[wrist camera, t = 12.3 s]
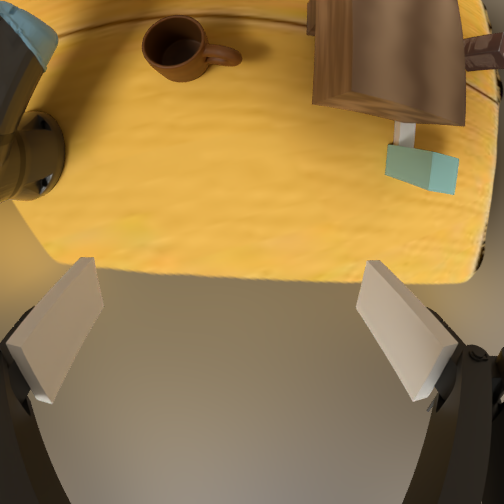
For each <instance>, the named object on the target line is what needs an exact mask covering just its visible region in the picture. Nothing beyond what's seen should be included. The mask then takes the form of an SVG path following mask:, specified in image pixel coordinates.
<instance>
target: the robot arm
mask: <svg viewBox="0 0 504 504" xmlns="http://www.w3.org/2000/svg"><path fill="white" fill-rule="evenodd" d="M57 45H58V36H57V34H56V32H55V31H54V30H53V29H52V28H51V27H50V26H48V25H47V24H46V23H44V22H43V21H41V20H40V19H38V18H37V17H35V16H34V15H32V14H30V13H29V12H27V11H25V10H23V9H20V8H18V7H16V6H14V5H12V4H11V3H8V2H5V1H0V203H2V202H4V201H6V200H8V199H11V200H21V201H30V200H34V199H37V198H39V197H41V196H44V195H45V194H47V193H48V192H49V191H50V190H51V189H52V188H53V187H54V186H55V184H56V183H57V181H58V179H59V177H60V175H61V172H62V169H63V165H64V158H65V144H64V138H63V134H62V131H61V129H60V127H59V125H58V123H57V122H56V121H55V119H54V118H53V117H51V116H50V115H49V114H47V113H44V112H36V111H31V112H25V109H26V107H27V105H28V103H29V101H30V98H31V96H32V94H33V92H34V90H35V88H36V86H37V84H38V82H39V80H40V78H41V76H42V74H43V73H44V72H45V71H46V70H47V64H48V63H49V61H50V59H51V57H52V55H53V53H54V51H55V49H56V48H57ZM24 112H25V113H24ZM103 307H104V304H103V300H102V295H101V291H100V286H99V281H98V277H97V271H96V266H95V261H94V257H81V258H80V259H79V260H78V261H77V262H76V263H75V264H74V265H73V266H72V267H71V268H70V269H69V270H68V271H67V272H66V273H65V274H64V275H63V276H62V277H61V278H60V279H59V280H58V281H57V283H56V284H55V285H54V286H53V287H52V288H51V289H50V290H49V291H48V293H47V294H46V295H45V296H44V297H43V298H42V299H41V300H40V301H39V303H38V304H37V305H36V306H34V307H32V308H31V309H29V310H28V311H26V312H25V313H24V314H23V315H22V317H21V318H20V319H19V321H18V322H17V323H16V324H15V325H14V327H12V329H11V330H10V331H9V332H8V334H7V335H6V336H5V338H4V339H3V340H2V342H1V343H0V504H71V503H70V501H69V499H68V497H67V495H66V493H65V491H64V489H63V487H62V485H61V483H60V481H59V479H58V477H57V474H56V472H55V470H54V467H53V465H52V463H51V461H50V458H49V455H48V453H47V450H46V448H45V445H44V442H43V440H42V437H41V434H40V431H39V428H38V425H37V422H36V419H35V415H34V412H33V409H32V405H31V401H30V400H29V398H28V396H27V395H28V393H29V391H30V389H31V391H32V392H33V394H34V396H35V397H36V399H37V400H40V401H43V402H47V403H50V404H53V402H54V399H55V397H56V395H57V393H58V391H59V389H60V387H61V385H62V383H63V381H64V379H65V376H66V375H67V372H68V371H69V369H70V367H71V365H72V363H73V361H74V359H75V357H76V355H77V353H78V351H79V349H80V347H81V346H82V344H83V342H84V340H85V339H86V337H87V335H88V333H89V331H90V330H91V328H92V326H93V324H94V322H95V321H96V319H97V317H98V316H99V314H100V312H101V311H102V309H103ZM356 309H357V311H358V312H359V314H360V315H361V317H362V318H363V320H364V321H365V323H366V325H367V326H368V328H369V329H370V331H371V332H372V334H373V336H374V337H375V339H376V340H377V342H378V343H379V345H380V347H381V348H382V350H383V352H384V353H385V355H386V357H387V358H388V360H389V362H390V363H391V365H392V367H393V368H394V370H395V372H396V373H397V375H398V377H399V378H400V380H401V382H402V383H403V385H404V387H405V389H406V390H407V392H408V394H409V396H410V397H411V399H412V401H416V400H420V399H423V398H426V397H428V396H429V394H430V393H431V391H432V390H433V388H434V386H435V388H436V389H437V391H438V393H437V395H436V397H435V398H434V400H433V401H432V403H431V404H430V406H429V407H428V409H427V411H428V412H429V410H430V409H431V408H432V407H433V408H432V413H431V417H430V422H429V426H428V429H427V433H426V437H425V440H424V444H423V447H422V450H421V454H420V457H419V460H418V463H417V466H416V469H415V472H414V475H413V478H412V480H411V483H410V485H409V488H408V491H407V493H406V496H405V498H404V500H403V503H402V504H481V501H482V504H504V402H503V403H501V400H500V398H501V397H502V396H503V394H504V347H503V348H502V350H501V351H500V353H499V355H498V356H489V355H488V354H487V352H486V351H485V350H484V349H482V348H481V347H479V346H476V345H467V346H466V345H465V344H464V343H463V342H462V340H461V339H460V338H459V337H458V336H457V335H456V334H455V332H454V331H453V330H452V329H451V328H450V327H448V325H447V324H446V323H445V322H443V319H442V318H441V317H440V316H439V315H438V314H437V313H436V312H434V311H433V310H431V309H429V308H428V307H425V306H424V304H423V303H422V302H421V301H420V300H419V299H418V298H417V297H416V296H415V295H414V294H413V293H412V292H411V291H410V290H409V289H408V288H407V287H406V286H405V285H404V284H403V283H402V282H401V281H400V280H399V279H398V278H397V277H396V276H395V275H394V274H393V273H392V272H391V271H390V270H389V269H388V268H387V267H386V266H385V265H384V264H383V263H382V262H381V261H380V260H367V262H366V267H365V271H364V276H363V280H362V284H361V288H360V293H359V297H358V301H357V305H356Z"/></svg>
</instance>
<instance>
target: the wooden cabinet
mask: <svg viewBox="0 0 504 504" xmlns="http://www.w3.org/2000/svg"><path fill="white" fill-rule="evenodd" d="M307 35H311V36H315V58H314V80H313V97H312V104H314V105H321V106H327V107H333V108H339V109H345V110H350V111H355V112H360V113H365V114H369V115H374V116H378V117H382V118H387V119H391V120H395V121H398V122H402V123H420V124H440V125H454V126H465V114H466V72H465V54H464V43H463V34H462V26H461V19H460V12H459V7H458V1H457V0H310V1H309V2H308V4H307Z"/></svg>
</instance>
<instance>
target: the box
mask: <svg viewBox="0 0 504 504" xmlns="http://www.w3.org/2000/svg"><path fill="white" fill-rule="evenodd" d="M463 43H464V54H465V69H466V70H467V71H477V70H489V69H504V32H502V33H495V34H488V35H483V36H477V37H472V38H467V39H463Z"/></svg>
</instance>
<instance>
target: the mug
mask: <svg viewBox="0 0 504 504" xmlns="http://www.w3.org/2000/svg"><path fill="white" fill-rule="evenodd" d="M142 52H143V55H144V57H145V59H146V60H147V61H148V63H149V64H150V65H151V66H152V67H153V68H154V69H155V70H157V71H158V72H159V73H161V74H162V75H163V76H164V77H166V78H167V79H169V80H172V81H175V82H188V81H191V80H194V79H196V78H198V77H199V76H201V75H202V74H203V73H204V72H205V70H206V69H207V68H208V66H209V63H211V64H217V65H222V66H236V65H238V64H240V63H241V61H242V56H241V54H240V53H239V52H238V51H237V50H235V49H232V48H230V47H226V46H221V45H212V44H209V43H208V39H207V36H206V33H205V31H204V29H203V28H202V26H201V25H200V23H199V22H198V21H196V20H195V19H193V18H191V17H188V16H184V15H173V16H168V17H165V18H163V19H161V20H159V21H157V22H156V23H155V24H153V25H152V26H151V27H150V28H149V29H148V31H147V32H146V34H145V36H144V38H143V42H142Z"/></svg>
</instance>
